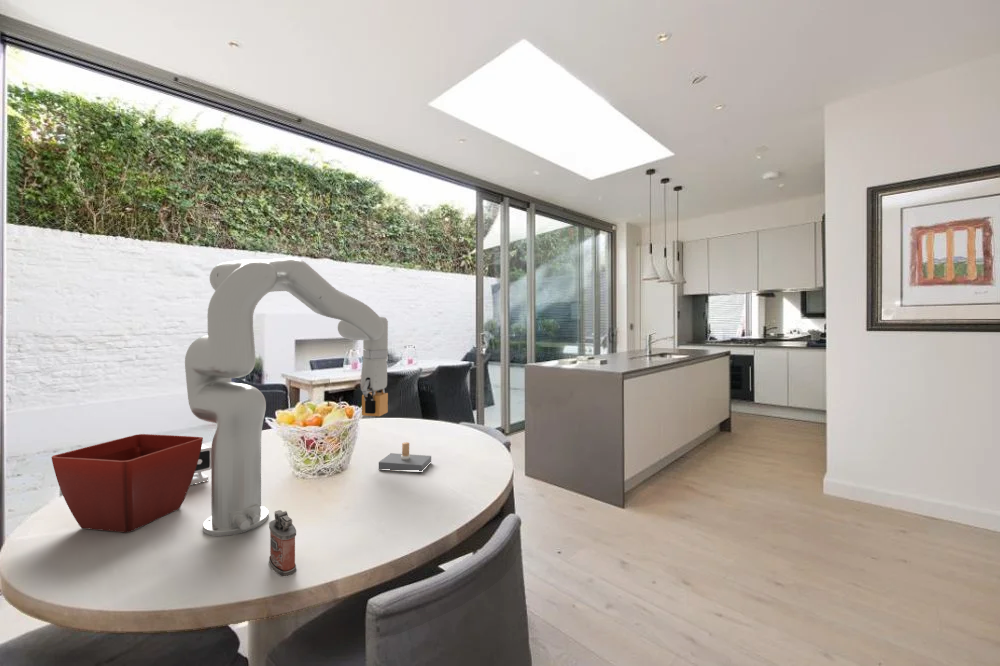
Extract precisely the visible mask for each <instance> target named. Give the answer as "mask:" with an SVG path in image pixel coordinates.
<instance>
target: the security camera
mask: <svg viewBox="0 0 1000 666" xmlns="http://www.w3.org/2000/svg"><path fill="white" fill-rule="evenodd" d="M210 470H211V446H208V445H206V444H204V443H202V447H201V452H200V456H199V459H198V463H197V466H196V470H195V473H194V476H193V479H192V481H191V484H190V485H192V484H195V483H199V482H203V481H207V480H208V481H209V475H206V474H205V473H203V472H206V471H210ZM192 486H193V485H192Z"/></svg>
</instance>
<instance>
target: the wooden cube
mask: <svg viewBox="0 0 1000 666" xmlns="http://www.w3.org/2000/svg"><path fill="white" fill-rule="evenodd" d="M370 394H371V396H372V393H370ZM364 399H365V397H364V394H362V395H361V416H364V417H367V416H368V417H381V416H383V415H385V414H387V413H388V412H389V404H388V402H389V393H388V392H385V393H378V392H376V393H375V398H374V401H376V403H375V413H374V414H372V413H365V400H364Z"/></svg>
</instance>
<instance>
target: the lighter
mask: <svg viewBox="0 0 1000 666" xmlns="http://www.w3.org/2000/svg"><path fill="white" fill-rule="evenodd" d="M268 527H269V533H270V534H269V535H270V536H269V537H270V538H269V540H270V544H269V546H270V547H269V549H270V551H269V553H270V554H269V556H268V563H269V567H270V568H271V570H272V571H273V572H274V573H275V574H277V575H279V576H280V577H282V578H285V577H289V576H292V575H294V574H295V573H296V572H297V565H296V536H297V529H296V527H295V526H294V524H293V519H292V518H291V517H290V516H289V515H288V511H287V510H285V511H283V510H281V509H279V510H275V511H274V519H273V520H271V521H270V522H269V523H268Z"/></svg>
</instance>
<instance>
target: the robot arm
mask: <svg viewBox="0 0 1000 666" xmlns="http://www.w3.org/2000/svg"><path fill="white" fill-rule="evenodd" d="M209 284H210V285H211V287H212V289H213V290H214V292H213V294H212V296H211V298H210V300H209V304H208V308H207V335H202V336H201V337H198V338H196V339H195V340H194V341H193V342H191V344H190V345H189V346H188V348H187V350H186V353H185V357H184V369H185V381H186V390H187V400H188V401H187V402H188V405H189V408H190V410H191V413H192V414H193V416H194V417H196V418H198V419H199V420H201V421H203V422H208V423H212V424H216V425H217V426H216V430H215V432H214V435H213V437H212V441H211V446H210V448H211V469H210V470H211V471H210V473H211V474H210V475H211V477H210V479H211V489H210V491H211V494H210V495H211V502H210V503H211V516H209V517H208V518H207V519H205V520H204V521H203V524H202V531H203V533H205V534H207V535H210V536H216V537H218V536H219V537H221V536H222V537H224V536H233V535H236V534H241V533H245V532H247V531H251V530H253V529H256V528H258V527H259V526H261V525H262V524H264V523H265V522H266V521H267V520H268V519H269V516H270V513H269V509H268V508H267V507H265V506H262V435H263V434H262V433H263V432H262V430H263V424H264V419H265V416H266V415H265V414H266V412H267V411H266V410H267V409H266V408H267V403H266V398H265V396H264V394H263V392H262V391H260V390H259V389H258V388H257V387H255V386H253V385H250V384H247V383H241V382H234V381H233V382H232V379H239V378H244V377H246V376H248V375H249V374H250V373H252V371H253V370H254V368H255V365H256V346H255V335H254V333H255V332H254V314H255V309H256V308H257V305H258V304H259V303H260V301H261V300H262V299H263V298H264V296H266V295H267V294H268V293H273V292H288V293H289V294H291V296H292V297H295V298H296V299H298V301H300V302H301V303H303V305H305V306H306V307H307V308H309V309H310V310H311V311H312V312H313V313H316V314H317V315H320V316H324V317H326V318H330V319H335V320H339V322H338V324H337V331H338V334H339V335H340V336H341V337H342V338H344V339H346V340H351V341H363V343H362V344H363V346H362V347H363V350H362V351H363V352H362V360H363V361H362V364H361V365H362V366H361V375H360V391H361V393H362V395H364V397H365V399H364V400H365V413H372V414H374V413H375V403H376V401H374V398H375V393H376V392H378V393H386V389H387V386H388V364H387V360H388V357H389V356H388V351H389V350H388V348H389V347H388V340H389V338H388V337H389V334H388V333H389V321H388V319H387V318H386V317H383V316H379V315H378V313H376V311H374V309H372V308H371V307H370V306H368V304H366V303H364V302H363V301H361V300H358V299H356V298H354V297H353V296H351V295H348V294H347V293H344V292H342V291H340V290H338V289H336V287H334V286H333V285H332V284H331V283H329V282H328V281H327V280H326V279H325V278H324V277H323V276H321V275H320V274H319V273H318V272H317V271H316V270H315V269H314V268H312V266H310V265H309V264H308V263H306V261H304V260H303V259H301V258H298V257H285V258H283V257H281V258H273V259H257V258H256V259H254V258H253V259H251V258H249V259H241V260H233V261H224V262H221V263H218V264H217V265H215V266H214V267H213V268H212V270H211V271H210V274H209ZM370 393H372V396H371V394H370Z"/></svg>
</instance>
